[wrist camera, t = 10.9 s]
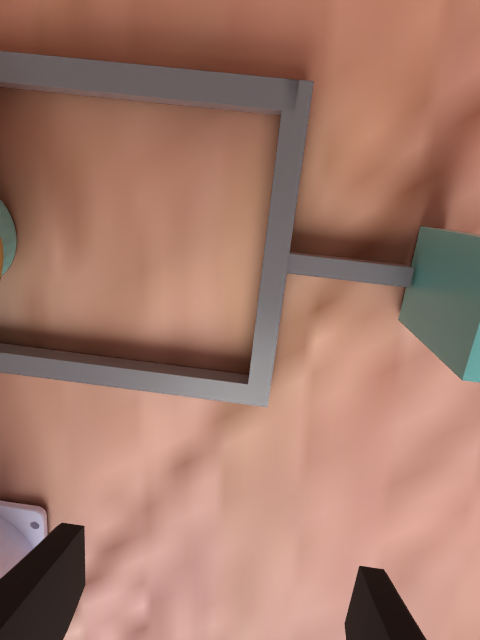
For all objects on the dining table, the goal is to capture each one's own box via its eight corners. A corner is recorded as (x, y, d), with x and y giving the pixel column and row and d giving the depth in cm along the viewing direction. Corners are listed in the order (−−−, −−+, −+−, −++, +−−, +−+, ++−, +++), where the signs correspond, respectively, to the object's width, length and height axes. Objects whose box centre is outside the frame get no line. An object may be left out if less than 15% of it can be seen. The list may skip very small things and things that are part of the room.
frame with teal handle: (402, 414, 18) (461, 510, 13) (-106, 348, 19) (-262, 410, 14) (482, 105, 15) (619, 46, 9) (-158, 43, 16) (-407, -48, 10)
